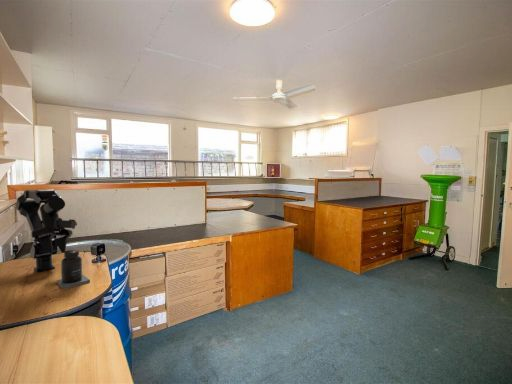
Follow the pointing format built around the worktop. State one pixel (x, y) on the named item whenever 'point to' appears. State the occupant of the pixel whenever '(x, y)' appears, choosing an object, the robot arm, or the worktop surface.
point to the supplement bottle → (71, 267)
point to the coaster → (69, 285)
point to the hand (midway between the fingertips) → (57, 252)
